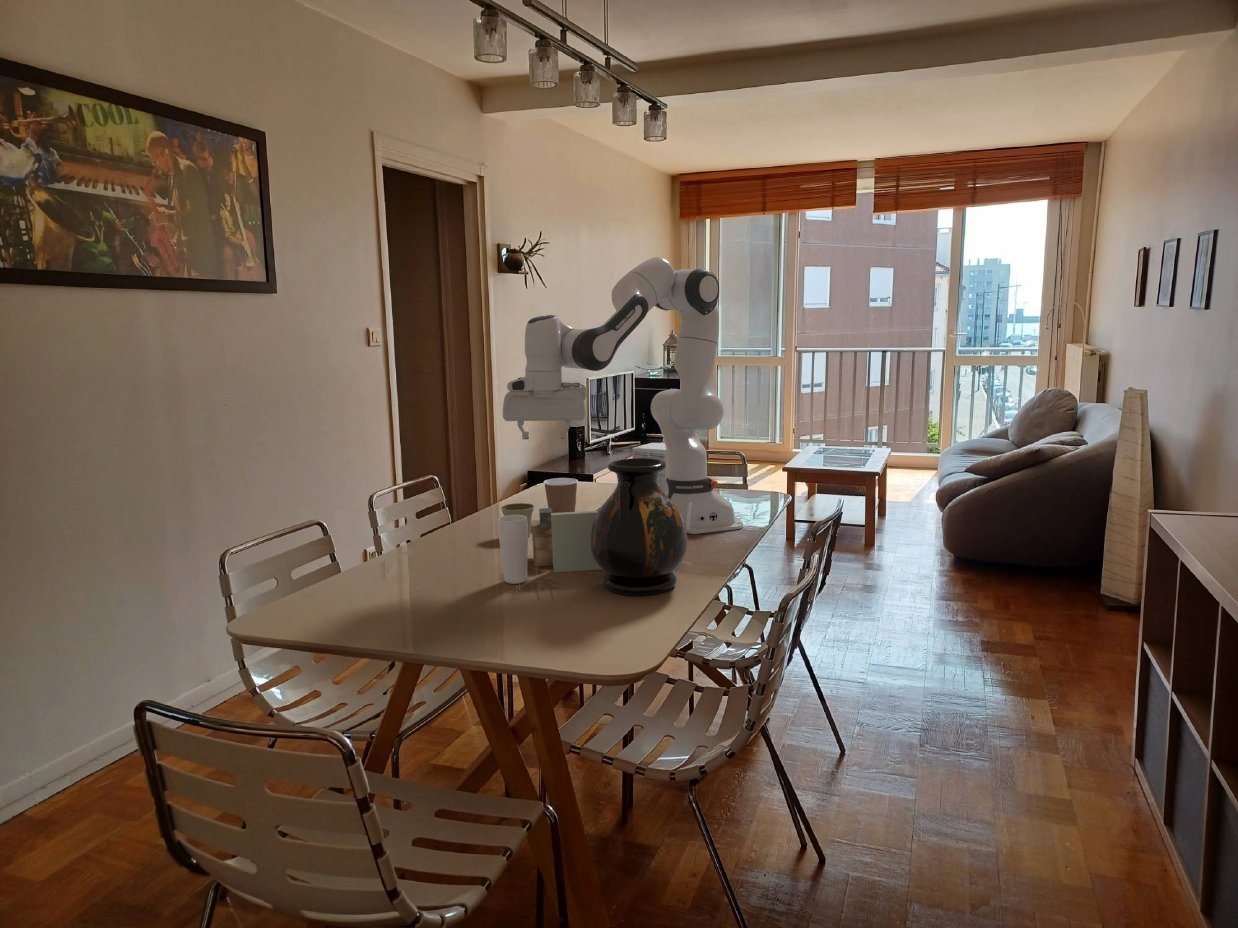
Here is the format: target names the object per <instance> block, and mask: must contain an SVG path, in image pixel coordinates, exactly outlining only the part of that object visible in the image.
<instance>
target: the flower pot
mask: <svg viewBox="0 0 1238 928" xmlns="http://www.w3.org/2000/svg"><path fill="white" fill-rule="evenodd" d="M535 507H536V506H535V505H534V504H533V503H526V502H517V503H508V504H503V505H501V506H500V509H501V513H502V515H503V516H507V515H524V516H526V517H527V521H528V538H530V536H531V530H532V522H531V521H532V518H533V513H534V509H535Z"/></svg>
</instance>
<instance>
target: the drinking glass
mask: <svg viewBox="0 0 1238 928" xmlns="http://www.w3.org/2000/svg"><path fill="white" fill-rule="evenodd" d="M497 526H498V527H497V532H498V540H499V541H498V543H499V549H500V555H501V562H502V570H503V580H504V582H505V583H507V584H510V585H517V584H523V583H526V581H527V580H528V556H529V555H528V553H529V552H528V551H529V537H528V521H527V517H526V516H524V515H507V516H504V515H502V516H500V517H498V518H497Z"/></svg>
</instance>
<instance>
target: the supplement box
mask: <svg viewBox="0 0 1238 928" xmlns="http://www.w3.org/2000/svg"><path fill="white" fill-rule="evenodd" d="M631 450H632V452H631V453H632V454H631V456H632V458H631V459H633V458H648V459H657V460H661V461H664V462H665V463H666V465H667V451H666V446H665V442H649V443H647V444H641V445H639V446H635V447H631ZM667 477H668V466H666V468H665V469H664V470H662V471H660V472H658V476H657V484H658V486H659V487H660V489H661V490H662V491H663V493H664V494H665V495H666V479H667ZM666 496H667V495H666Z"/></svg>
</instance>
